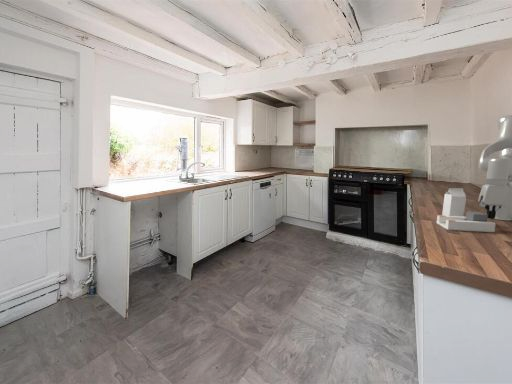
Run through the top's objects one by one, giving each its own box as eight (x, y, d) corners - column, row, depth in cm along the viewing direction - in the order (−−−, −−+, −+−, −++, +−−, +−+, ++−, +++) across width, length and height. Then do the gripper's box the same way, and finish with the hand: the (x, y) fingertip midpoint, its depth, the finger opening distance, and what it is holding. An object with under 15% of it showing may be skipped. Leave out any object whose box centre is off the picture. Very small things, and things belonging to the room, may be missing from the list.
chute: (478, 225, 129) (479, 216, 128) (494, 232, 118) (496, 222, 117) (436, 223, 134) (437, 214, 133) (448, 229, 122) (449, 220, 121)
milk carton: (462, 222, 134) (467, 189, 131) (448, 222, 135) (452, 189, 132) (455, 219, 141) (459, 187, 137) (441, 218, 142) (445, 187, 139)
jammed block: (478, 224, 126) (480, 212, 125) (485, 227, 121) (487, 214, 120) (464, 223, 128) (466, 211, 127) (471, 227, 122) (473, 214, 121)
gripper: (507, 182, 121) (502, 217, 124) (473, 181, 124) (468, 215, 127) (520, 184, 114) (514, 221, 117) (483, 183, 117) (478, 219, 120)
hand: (490, 218), depth 122 cm, fingers closed
